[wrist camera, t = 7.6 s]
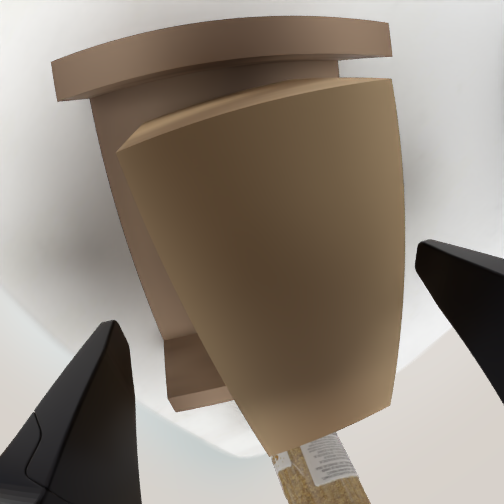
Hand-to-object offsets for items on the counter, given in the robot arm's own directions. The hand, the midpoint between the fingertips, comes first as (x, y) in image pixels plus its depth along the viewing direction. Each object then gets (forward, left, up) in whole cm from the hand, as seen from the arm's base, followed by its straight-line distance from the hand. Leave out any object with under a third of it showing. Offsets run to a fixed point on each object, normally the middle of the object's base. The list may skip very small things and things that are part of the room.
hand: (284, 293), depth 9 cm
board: (0, 0, -3) cm, 3 cm away
